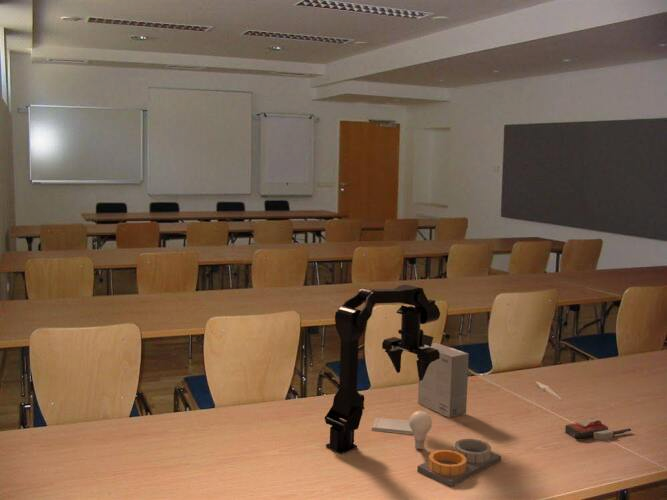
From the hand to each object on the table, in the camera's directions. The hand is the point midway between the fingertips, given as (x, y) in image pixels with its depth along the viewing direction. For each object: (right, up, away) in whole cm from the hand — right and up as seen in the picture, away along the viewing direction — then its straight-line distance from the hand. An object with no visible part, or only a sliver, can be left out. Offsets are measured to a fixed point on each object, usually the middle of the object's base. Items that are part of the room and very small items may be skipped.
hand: (409, 376), depth 210 cm
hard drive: (-5, -16, -1) cm, 17 cm away
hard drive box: (+12, -13, +14) cm, 23 cm away
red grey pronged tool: (+56, -17, -3) cm, 58 cm away
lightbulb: (+1, -18, -16) cm, 24 cm away
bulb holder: (+11, -19, -26) cm, 34 cm away
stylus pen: (+52, -12, +31) cm, 62 cm away
